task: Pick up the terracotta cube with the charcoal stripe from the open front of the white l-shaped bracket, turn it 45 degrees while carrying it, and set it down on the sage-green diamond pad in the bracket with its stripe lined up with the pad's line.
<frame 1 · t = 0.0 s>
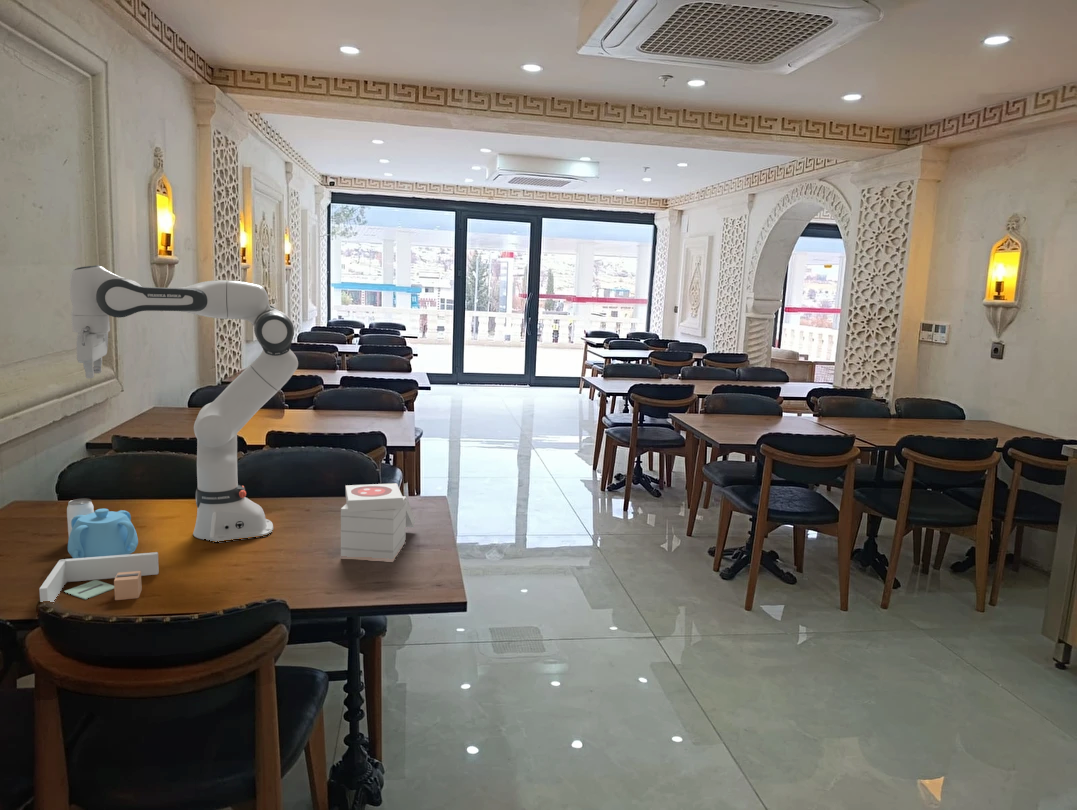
hand: (93, 375, 205), 48 cm above the table, tool pointing down, fingers open, 8 cm apart
pizza boxes: (378, 545, 220), on the table
can: (82, 542, 212), on the table
white l-shaped bracket: (103, 590, 182), on the table
decorative pot: (104, 558, 201), on the table
cube: (128, 595, 180), on the table
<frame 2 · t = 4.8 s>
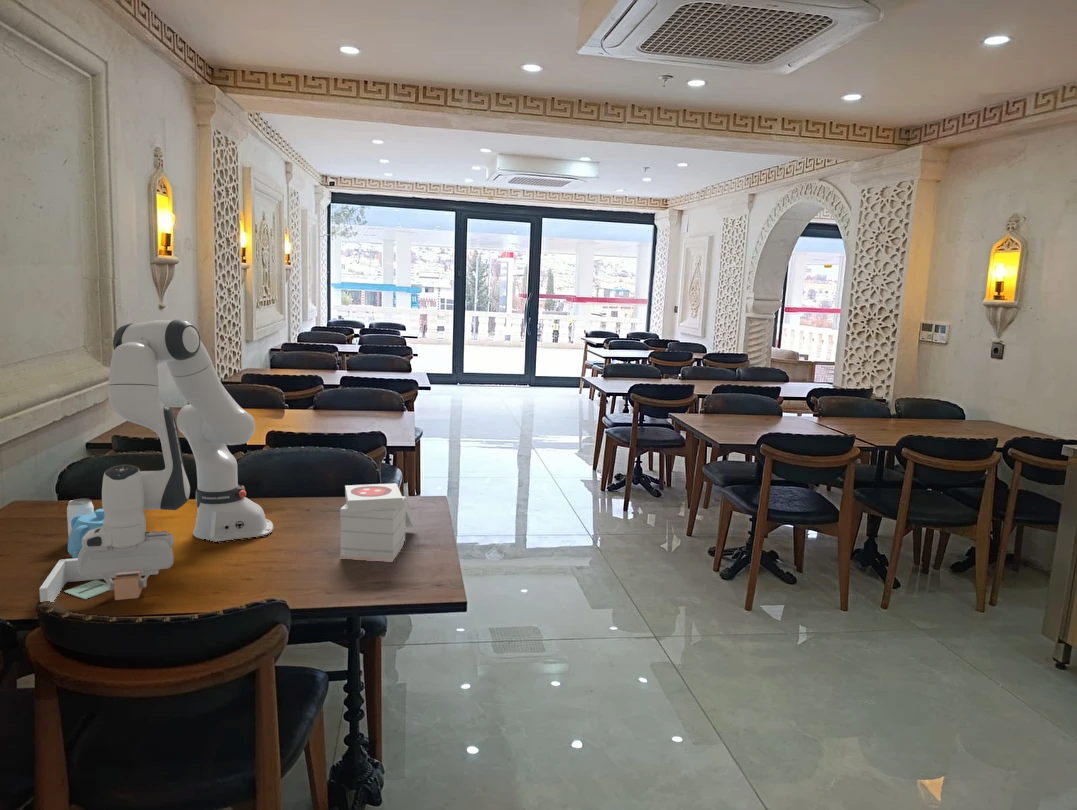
hand: (128, 587, 180), 2 cm above the table, tool pointing down, fingers closed on cube, 5 cm apart
cube: (128, 594, 180), on the table, touching gripper
everything else where it was.
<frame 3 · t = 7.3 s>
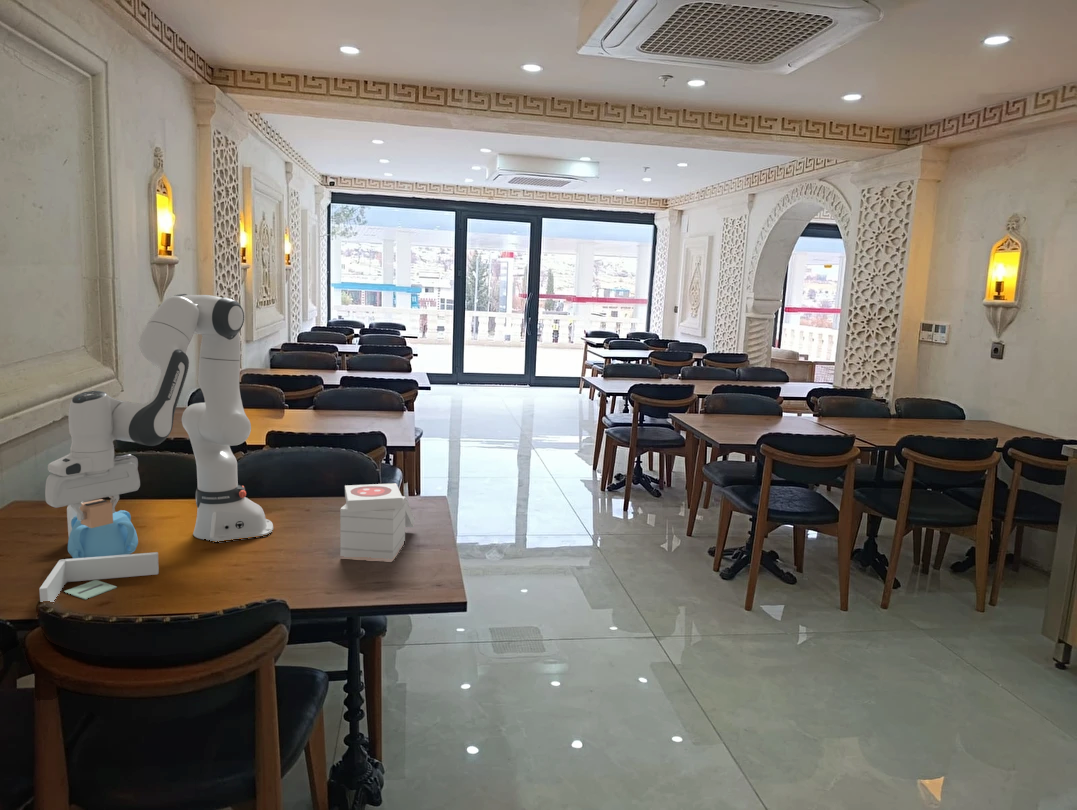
hand: (96, 516, 178), 19 cm above the table, tool pointing down, fingers closed on cube, 5 cm apart
cube: (97, 523, 178), point 17 cm above the table, touching gripper
everything else where it was.
when the fingers open (3 cm above the table, at t = 10.0 s): cube stays where it is, resting on white l-shaped bracket.
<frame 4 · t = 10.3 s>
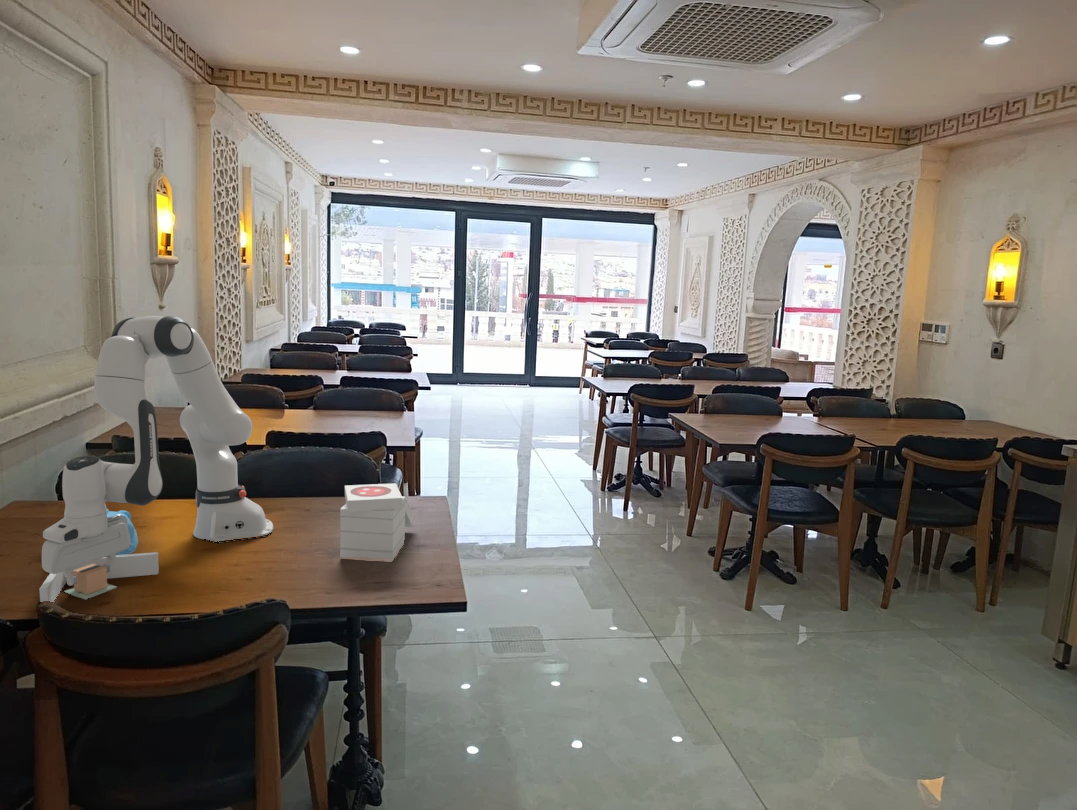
hand: (90, 578, 181), 3 cm above the table, tool pointing down, fingers open, 7 cm apart
cube: (90, 588, 181), resting on white l-shaped bracket
everything else where it was.
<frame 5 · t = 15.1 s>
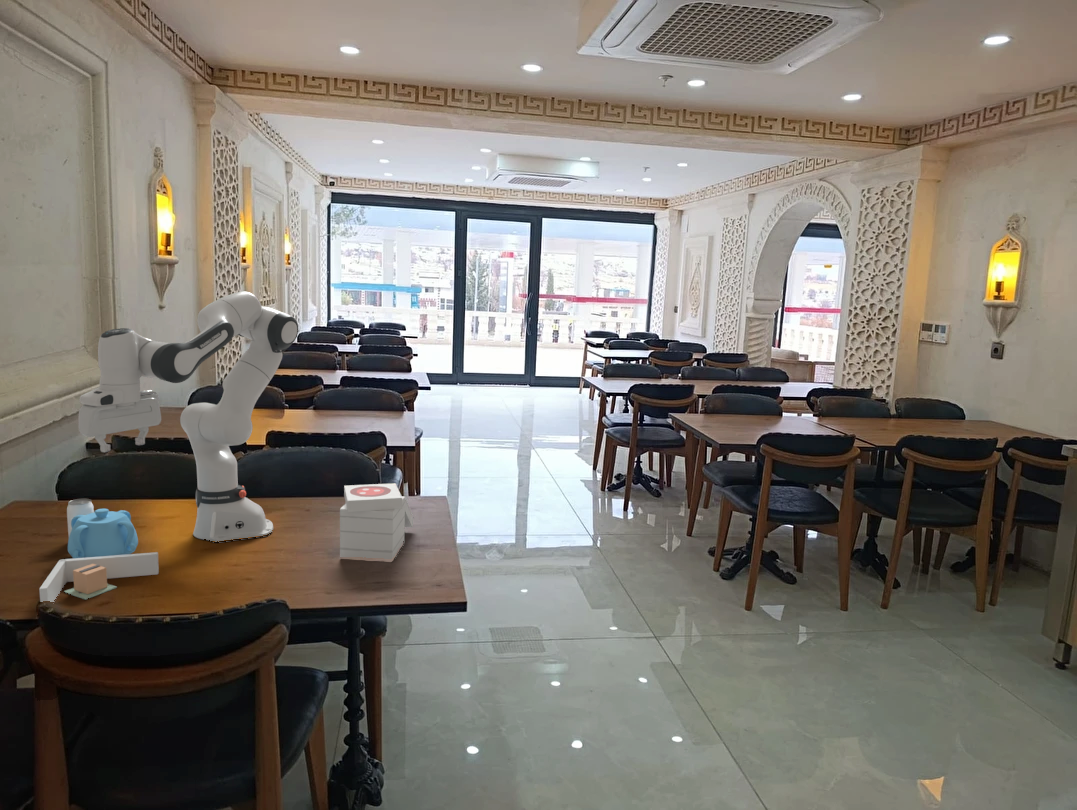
hand: (123, 448, 187), 33 cm above the table, tool pointing down, fingers open, 8 cm apart
nothing on the table moved.
at the end: cube 0.1 cm from the target spot, resting on white l-shaped bracket; cube tilted 0°; the gripper is holding nothing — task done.
